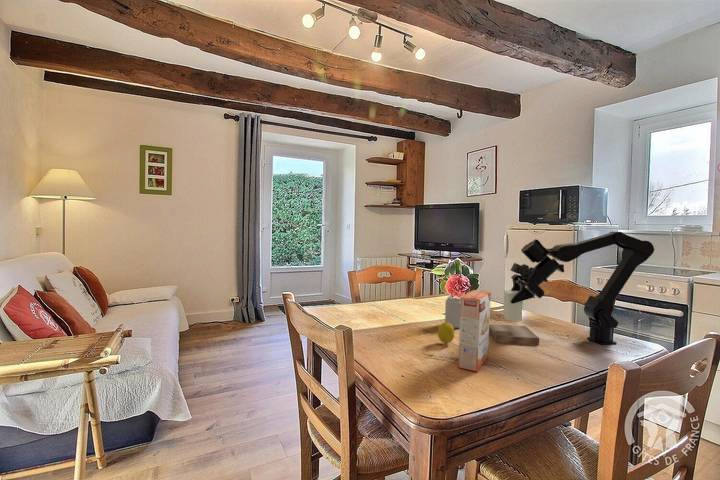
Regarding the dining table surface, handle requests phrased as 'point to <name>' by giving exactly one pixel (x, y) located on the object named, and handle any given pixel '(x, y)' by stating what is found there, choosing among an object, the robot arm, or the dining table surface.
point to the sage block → (512, 307)
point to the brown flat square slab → (513, 334)
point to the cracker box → (474, 329)
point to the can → (453, 311)
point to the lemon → (446, 332)
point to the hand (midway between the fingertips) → (509, 301)
